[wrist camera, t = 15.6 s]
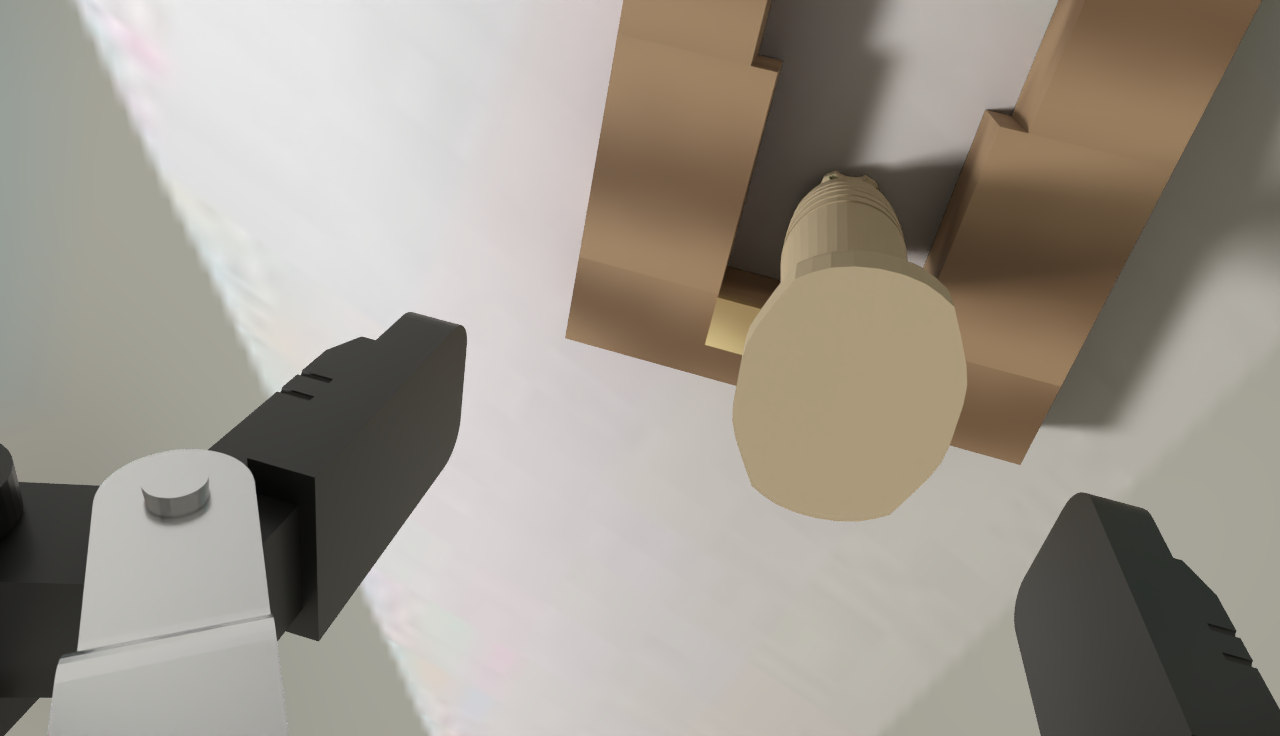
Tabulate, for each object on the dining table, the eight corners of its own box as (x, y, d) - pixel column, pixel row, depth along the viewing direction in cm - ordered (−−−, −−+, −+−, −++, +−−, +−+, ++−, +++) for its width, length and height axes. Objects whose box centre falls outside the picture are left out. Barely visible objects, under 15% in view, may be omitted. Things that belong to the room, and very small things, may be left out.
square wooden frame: (704, -344, 25) (686, -381, 22) (1325, -221, 23) (1394, -243, 21) (585, 308, 36) (563, 341, 33) (1006, 424, 34) (1021, 469, 31)
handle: (930, 134, 30) (1002, 289, 17) (886, 299, 33) (917, 539, 20) (794, 114, 30) (761, 248, 17) (763, 277, 33) (715, 496, 20)
